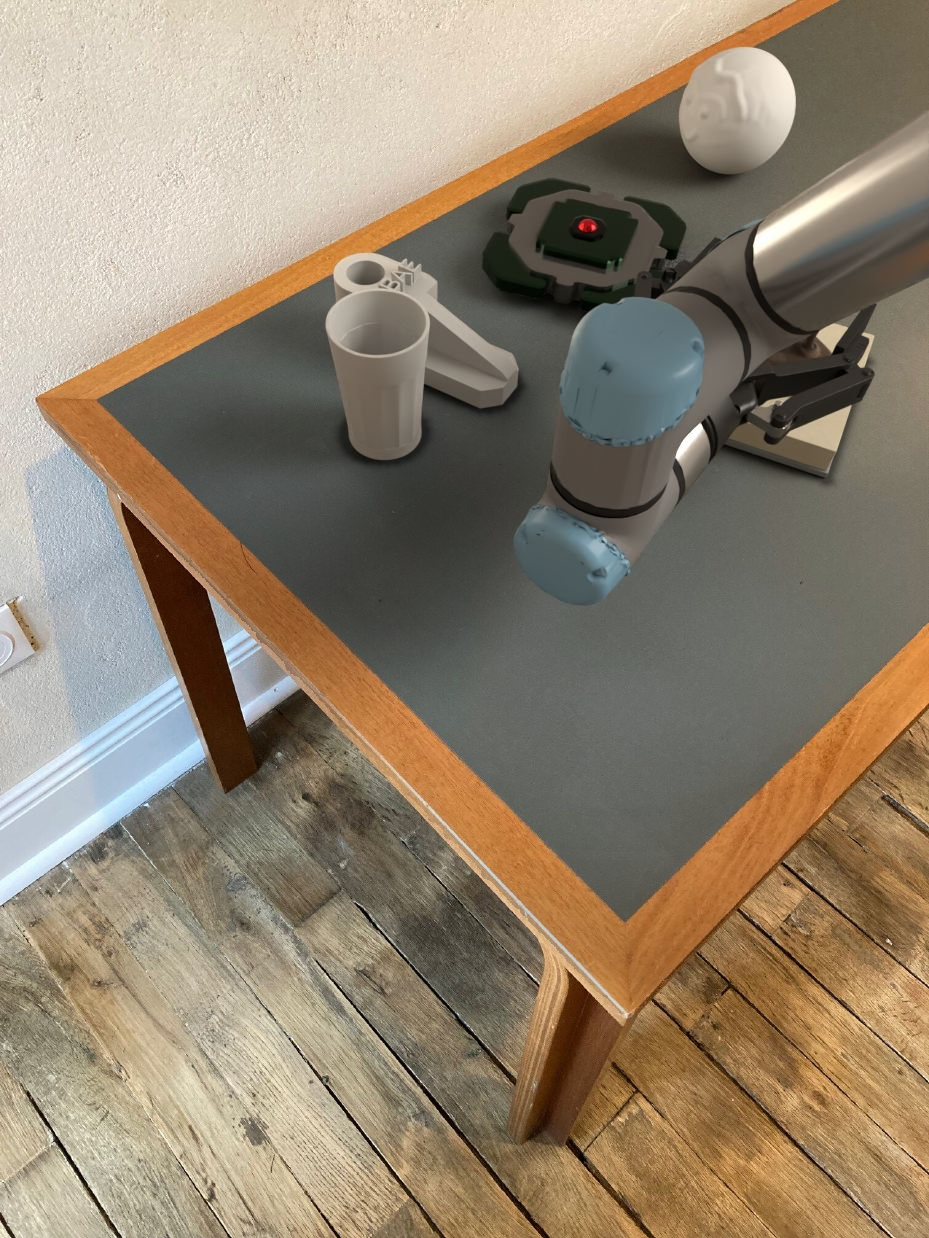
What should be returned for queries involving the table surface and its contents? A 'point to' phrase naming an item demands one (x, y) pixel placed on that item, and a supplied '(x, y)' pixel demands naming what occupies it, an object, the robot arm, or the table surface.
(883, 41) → the table surface
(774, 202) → the table surface
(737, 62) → the decorative ball
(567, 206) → the clover-shaped pad
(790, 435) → the cream flat slab
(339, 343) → the cup
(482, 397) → the grey mounting bracket
